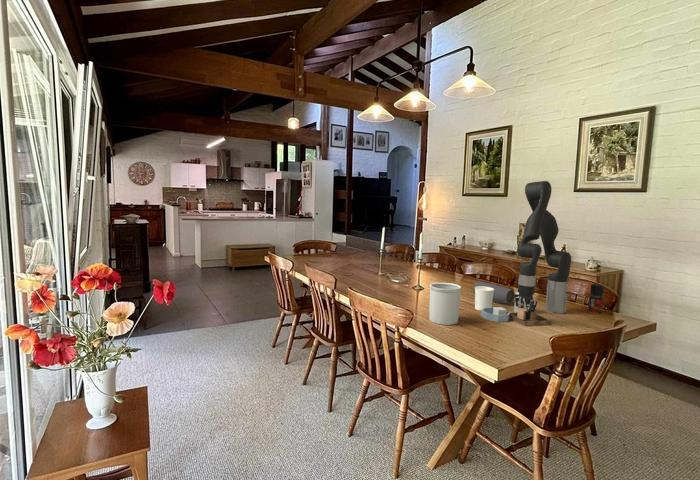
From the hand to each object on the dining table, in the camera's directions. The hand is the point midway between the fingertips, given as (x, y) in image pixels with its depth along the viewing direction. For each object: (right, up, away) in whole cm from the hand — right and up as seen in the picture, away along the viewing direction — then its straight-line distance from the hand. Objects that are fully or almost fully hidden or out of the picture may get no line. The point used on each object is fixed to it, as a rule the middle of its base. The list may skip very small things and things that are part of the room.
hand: (524, 317), depth 185 cm
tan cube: (0, 0, 0) cm, 0 cm away
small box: (+6, -1, +16) cm, 17 cm away
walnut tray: (+2, -2, +1) cm, 3 cm away
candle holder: (-14, 0, +19) cm, 23 cm away
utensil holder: (-40, -1, -1) cm, 40 cm away
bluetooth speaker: (-1, +2, +38) cm, 38 cm away
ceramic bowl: (-13, -1, +4) cm, 13 cm away
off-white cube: (-10, -1, +5) cm, 11 cm away
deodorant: (+49, -1, +22) cm, 54 cm away
